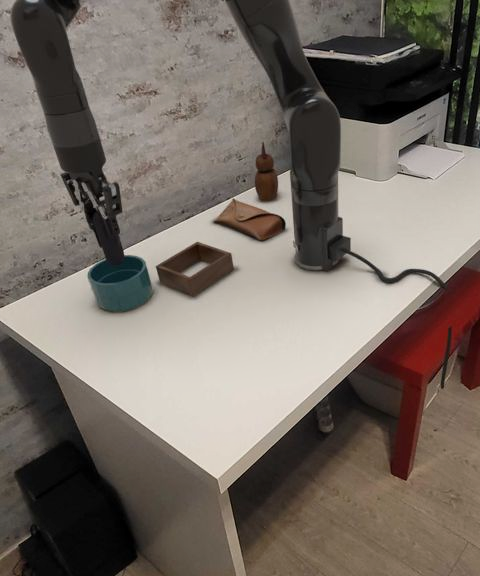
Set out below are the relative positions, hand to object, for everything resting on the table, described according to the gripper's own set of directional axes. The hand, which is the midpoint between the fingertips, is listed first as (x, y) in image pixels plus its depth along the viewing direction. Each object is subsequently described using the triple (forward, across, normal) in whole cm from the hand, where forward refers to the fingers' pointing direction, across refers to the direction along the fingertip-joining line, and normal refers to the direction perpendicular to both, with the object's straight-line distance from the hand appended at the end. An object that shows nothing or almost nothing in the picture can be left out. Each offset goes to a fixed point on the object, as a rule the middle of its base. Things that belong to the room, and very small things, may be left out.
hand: (105, 231), depth 98 cm
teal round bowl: (+15, 0, 0) cm, 15 cm away
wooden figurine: (+15, +5, -52) cm, 54 cm away
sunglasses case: (+15, -1, -37) cm, 40 cm away
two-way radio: (+7, 0, 0) cm, 7 cm away
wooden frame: (+14, -7, -14) cm, 21 cm away
